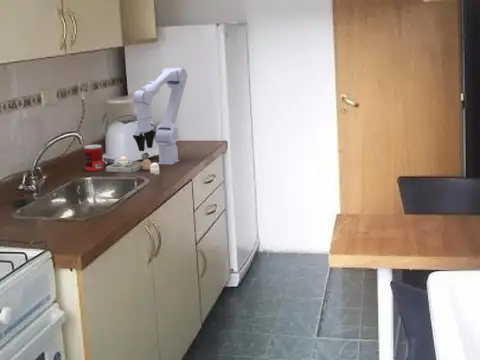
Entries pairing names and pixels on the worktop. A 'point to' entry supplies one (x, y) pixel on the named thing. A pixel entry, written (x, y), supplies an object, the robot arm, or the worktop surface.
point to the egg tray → (125, 167)
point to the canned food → (93, 157)
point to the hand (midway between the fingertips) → (145, 149)
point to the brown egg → (146, 164)
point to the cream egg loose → (154, 168)
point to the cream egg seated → (123, 160)
